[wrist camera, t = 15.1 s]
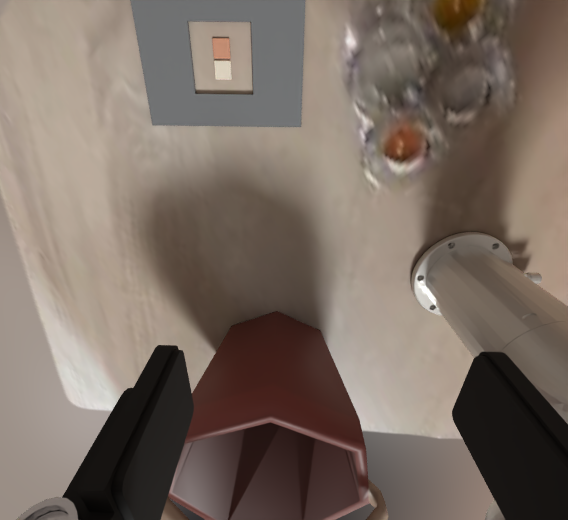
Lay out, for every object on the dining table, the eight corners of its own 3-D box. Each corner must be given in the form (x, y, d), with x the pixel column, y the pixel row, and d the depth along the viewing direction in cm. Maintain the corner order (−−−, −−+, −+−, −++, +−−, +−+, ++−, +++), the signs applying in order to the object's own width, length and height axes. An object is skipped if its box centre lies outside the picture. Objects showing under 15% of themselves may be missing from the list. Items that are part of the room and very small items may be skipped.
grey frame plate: (305, -20, 27) (305, -21, 26) (300, 126, 32) (300, 127, 32) (128, -22, 27) (126, -23, 26) (153, 124, 32) (152, 125, 32)
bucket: (377, 340, 46) (460, 559, 24) (304, 419, 55) (315, 631, 33) (233, 273, 41) (167, 473, 18) (179, 372, 50) (90, 586, 28)
